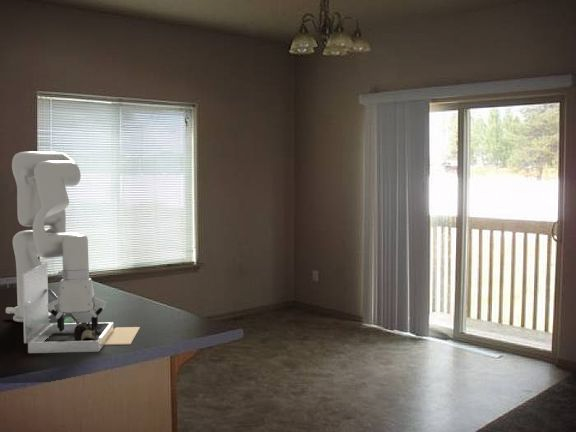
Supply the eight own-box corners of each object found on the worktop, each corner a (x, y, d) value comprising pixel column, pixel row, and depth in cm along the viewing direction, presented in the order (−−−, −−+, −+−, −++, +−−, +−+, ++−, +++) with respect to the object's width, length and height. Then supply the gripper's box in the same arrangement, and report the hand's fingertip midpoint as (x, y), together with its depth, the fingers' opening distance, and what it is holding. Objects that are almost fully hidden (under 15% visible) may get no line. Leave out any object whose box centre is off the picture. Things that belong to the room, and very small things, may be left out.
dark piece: (97, 351, 186) (96, 332, 185) (73, 353, 184) (72, 334, 183) (97, 335, 203) (96, 318, 202) (75, 337, 201) (74, 320, 200)
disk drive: (37, 324, 217) (50, 333, 205) (37, 316, 216) (50, 324, 205) (67, 320, 223) (82, 328, 211) (67, 312, 223) (81, 319, 211)
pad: (103, 345, 189) (103, 343, 189) (115, 328, 209) (115, 327, 209) (130, 344, 190) (130, 343, 190) (139, 328, 209) (139, 326, 209)
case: (24, 353, 180) (22, 274, 179) (47, 332, 203) (45, 262, 202) (99, 351, 182) (97, 273, 181) (113, 331, 205) (112, 261, 204)
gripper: (43, 277, 187) (45, 334, 188) (102, 275, 188) (104, 331, 189) (50, 273, 194) (52, 328, 195) (107, 272, 196) (108, 326, 197)
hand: (77, 330), depth 192 cm, fingers open, 9 cm apart
